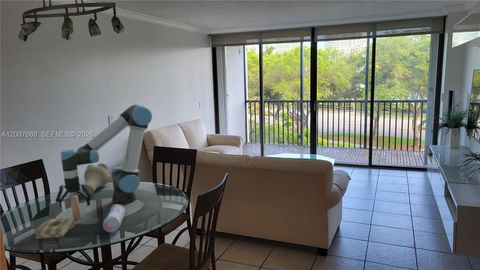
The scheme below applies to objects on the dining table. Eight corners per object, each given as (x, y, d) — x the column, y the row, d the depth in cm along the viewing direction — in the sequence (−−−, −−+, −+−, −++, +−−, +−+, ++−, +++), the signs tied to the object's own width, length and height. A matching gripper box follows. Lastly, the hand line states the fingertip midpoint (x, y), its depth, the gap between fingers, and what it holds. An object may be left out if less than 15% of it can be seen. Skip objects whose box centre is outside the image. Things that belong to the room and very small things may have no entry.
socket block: (74, 225, 193) (73, 217, 192) (63, 236, 179) (62, 228, 178) (49, 226, 192) (48, 219, 191) (36, 238, 178) (34, 230, 178)
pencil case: (111, 218, 200) (109, 203, 198) (126, 217, 201) (125, 201, 199) (103, 235, 179) (101, 218, 178) (120, 233, 181) (118, 216, 179)
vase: (98, 180, 231) (112, 160, 256) (65, 177, 230) (83, 157, 255) (99, 206, 240) (113, 184, 265) (68, 203, 239) (84, 182, 264)
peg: (81, 217, 203) (78, 195, 200) (79, 220, 199) (76, 197, 196) (75, 218, 203) (71, 195, 200) (72, 220, 199) (68, 198, 196)
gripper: (95, 173, 200) (100, 207, 204) (52, 176, 199) (57, 210, 203) (90, 177, 193) (95, 212, 197) (45, 179, 192) (51, 215, 196)
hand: (76, 211), depth 200 cm, fingers open, 13 cm apart
